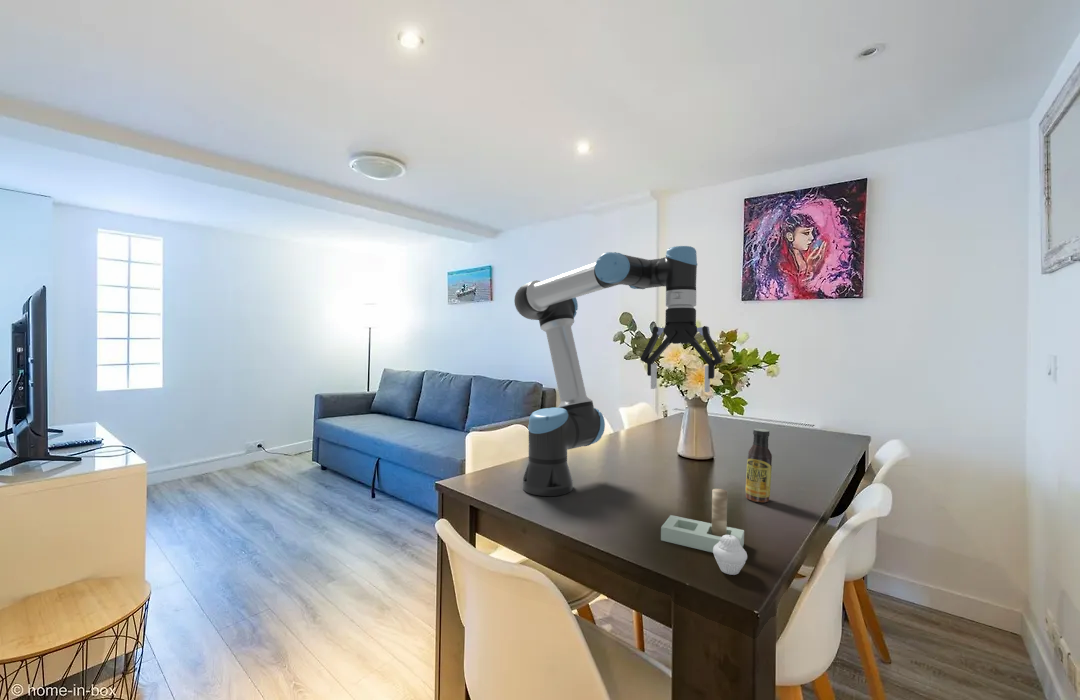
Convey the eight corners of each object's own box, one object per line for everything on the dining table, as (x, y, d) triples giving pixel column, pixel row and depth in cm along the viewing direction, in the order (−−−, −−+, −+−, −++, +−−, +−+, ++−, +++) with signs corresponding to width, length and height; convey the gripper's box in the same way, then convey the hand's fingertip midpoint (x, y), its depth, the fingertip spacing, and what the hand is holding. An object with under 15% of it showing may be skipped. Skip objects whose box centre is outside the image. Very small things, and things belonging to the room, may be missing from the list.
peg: (710, 546, 96) (711, 491, 96) (712, 541, 99) (713, 487, 99) (725, 550, 95) (726, 494, 95) (727, 544, 97) (728, 490, 97)
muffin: (740, 582, 82) (741, 545, 82) (707, 571, 86) (708, 535, 86) (751, 570, 87) (752, 534, 87) (719, 559, 91) (719, 525, 91)
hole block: (660, 540, 99) (661, 526, 99) (670, 527, 106) (670, 515, 106) (738, 558, 91) (739, 544, 91) (743, 543, 98) (744, 530, 98)
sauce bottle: (742, 499, 125) (743, 429, 125) (749, 494, 130) (750, 426, 130) (767, 505, 121) (768, 432, 120) (774, 499, 125) (775, 429, 125)
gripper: (629, 308, 118) (628, 388, 119) (730, 305, 105) (729, 394, 106) (638, 310, 125) (637, 385, 125) (735, 307, 112) (733, 391, 112)
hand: (679, 390), depth 116 cm, fingers open, 13 cm apart
